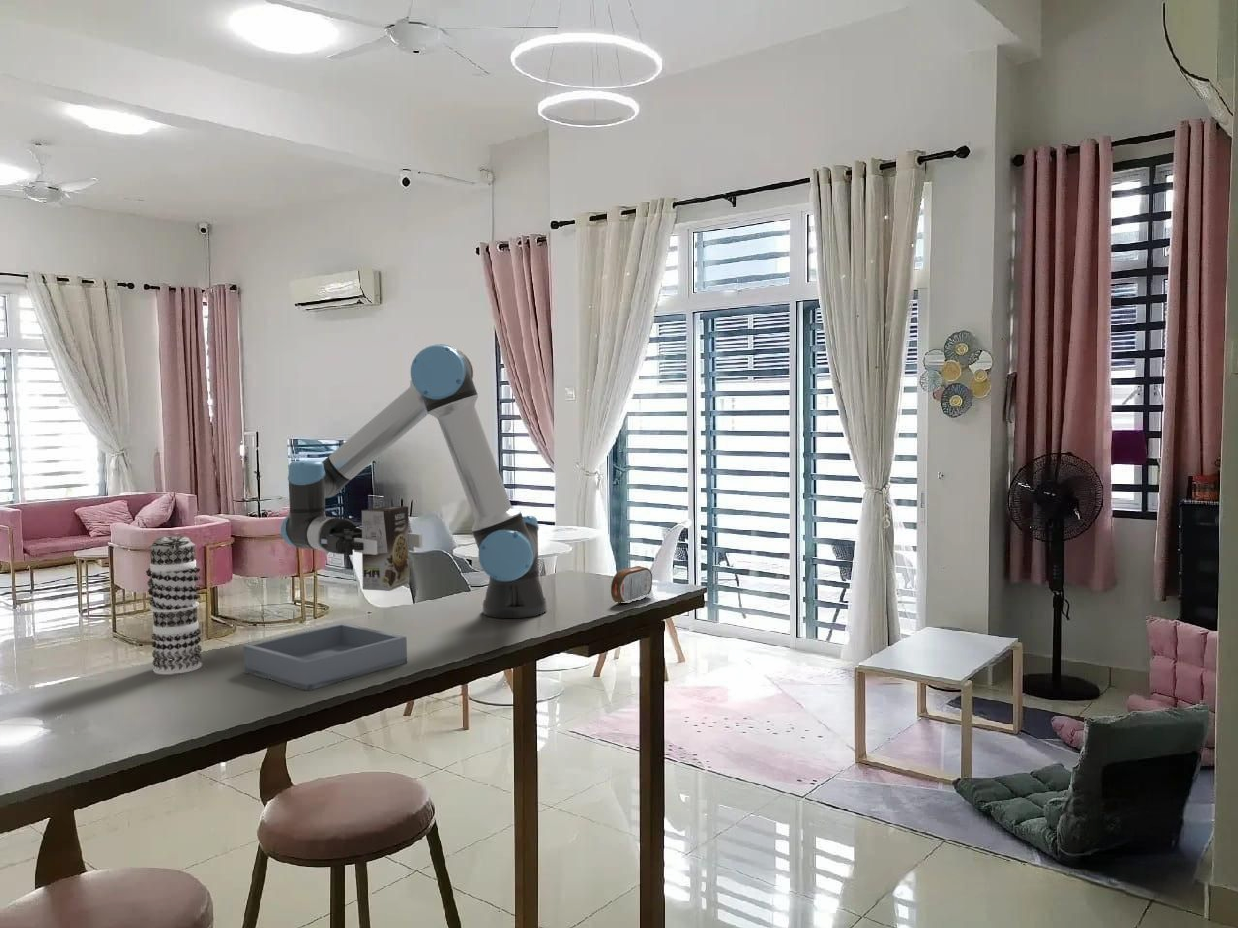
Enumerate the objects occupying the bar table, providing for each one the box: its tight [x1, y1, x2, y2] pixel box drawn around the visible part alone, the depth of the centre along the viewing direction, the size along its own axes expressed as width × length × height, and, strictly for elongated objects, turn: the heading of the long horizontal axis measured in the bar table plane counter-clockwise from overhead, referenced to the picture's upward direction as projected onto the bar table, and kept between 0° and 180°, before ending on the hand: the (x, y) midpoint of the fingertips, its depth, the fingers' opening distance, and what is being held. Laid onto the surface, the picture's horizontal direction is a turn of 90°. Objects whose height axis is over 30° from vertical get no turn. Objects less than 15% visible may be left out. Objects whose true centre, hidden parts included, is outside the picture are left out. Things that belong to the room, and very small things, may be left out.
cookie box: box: [361, 505, 411, 592], centre depth 191 cm, size 9×6×16 cm
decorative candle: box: [145, 535, 203, 675], centre depth 178 cm, size 9×9×25 cm
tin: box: [610, 565, 653, 603], centre depth 234 cm, size 15×3×8 cm, turn 144°
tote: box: [242, 622, 408, 692], centre depth 177 cm, size 22×20×5 cm
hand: (398, 544), depth 188 cm, fingers closed on cookie box, 10 cm apart
